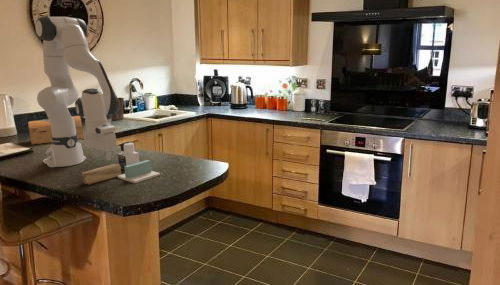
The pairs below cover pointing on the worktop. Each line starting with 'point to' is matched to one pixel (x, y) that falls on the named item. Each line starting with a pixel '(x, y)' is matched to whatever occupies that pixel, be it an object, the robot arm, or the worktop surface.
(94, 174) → the batten
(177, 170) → the worktop surface
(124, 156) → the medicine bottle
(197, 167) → the worktop surface
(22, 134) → the worktop surface
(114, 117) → the plant pot
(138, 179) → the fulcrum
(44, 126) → the wooden box
